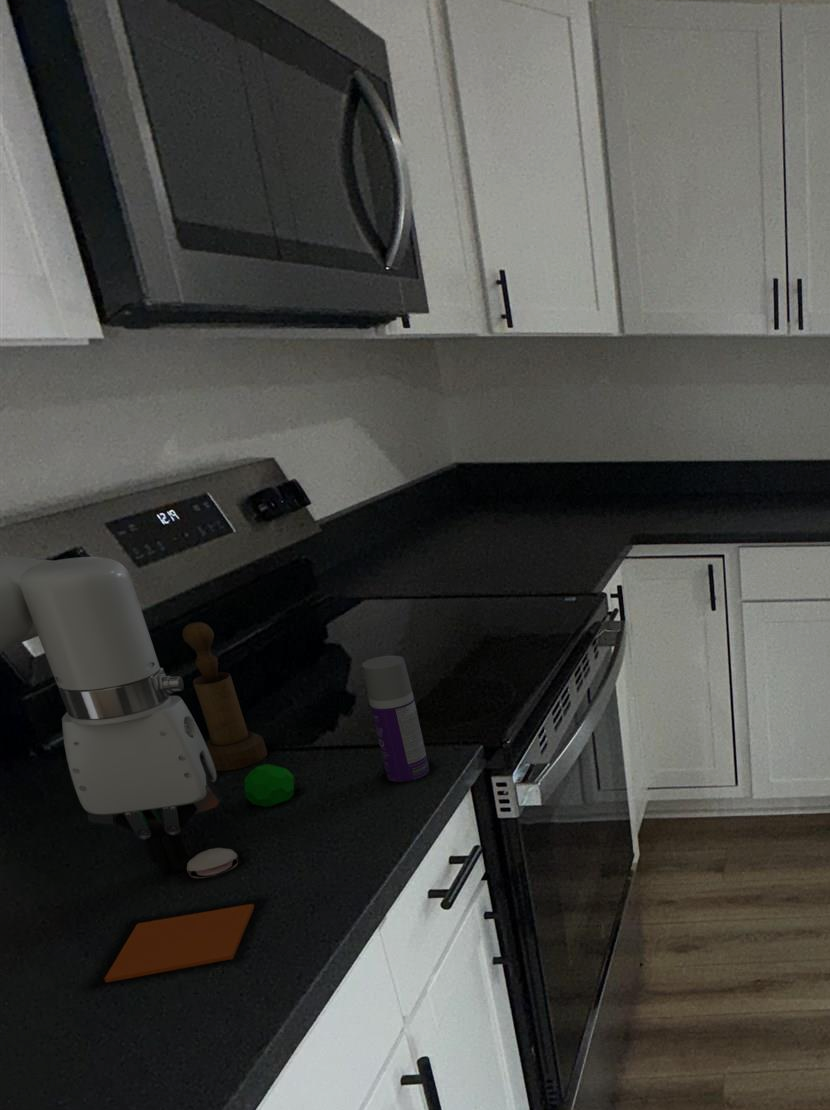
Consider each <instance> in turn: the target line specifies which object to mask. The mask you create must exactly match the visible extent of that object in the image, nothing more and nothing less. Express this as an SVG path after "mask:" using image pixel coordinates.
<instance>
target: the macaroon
mask: <svg viewBox="0 0 830 1110" xmlns="http://www.w3.org/2000/svg"><path fill="white" fill-rule="evenodd" d="M234 860H235V861H237V862H236V864H234V865H233V862H234ZM238 865H239V856H238V854H237V852H235V851H234V850H233V849H231V848H223V847H215V848H209V849H207V850H204V851H201V852H199V853H197V854H196V855H195V856H194V857H192V858H190V859H188V861H187V862H186V870H187V873H188V875H189V876H190V877H191V878H193V879H206V878H211V877H216V876H219V875H222V874H225V873H227V872H229V871H231V870H233V869H235V868H236V867H237V866H238ZM193 872H195V873H196V875H198V876H193V875H192V873H193Z"/></svg>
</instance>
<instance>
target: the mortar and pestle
mask: <svg viewBox="0 0 830 1110" xmlns="http://www.w3.org/2000/svg"><path fill="white" fill-rule="evenodd" d="M182 638H183V640H184V643H186V644H187V645H188V646H189V647H190V648H192V650H194V651H195V654H196V659H195V660H194V664H195V666H196V668H197V669H198V671H199V672H200V674H201V675H200V676H198V677H196V678H195V679H193V680H192V683H193V687H194V690H195V693H196V696H197V699H198V701H199V705H200V708H201V711H202V715H203V718H204V720H205V724H206V727H207V731H208V734H209V737H210V739H208V740H207V741H206V742H205V744H206V746H207V748H208V751H209V753H210V755H211V758H212V761H213V763H214V766H215V770H216V772H228V771H234V770H241V769H245V768H248V767H251V766H254V765H256V764H258V763H260V762H262V761H264V759H265V758H266V757H267V756H268V750H267V747H266V743H265V741H264V738H263V736H261V735H260V734H257V733H255V732H253V731H249V730H248V728H247V725H246V722H245V719H244V716H243V711H242V709H241V706H240V703H239V698H238V695H237V693H236V689H235V685H234V682H233V679H232V676H231V674H230V673H229V672H224V671H221V672H220V671H219V660H218V657H217V656H214V655H213V654H212V652H211V648H212V645H213V642H214V638H215V634H214V631H213V629H212V627H211V626H209V624H207V623H206V622H203V621H202V622H201V621H195V622H191V623H189V624H187V625H185V627H184V628H183V629H182Z"/></svg>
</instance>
